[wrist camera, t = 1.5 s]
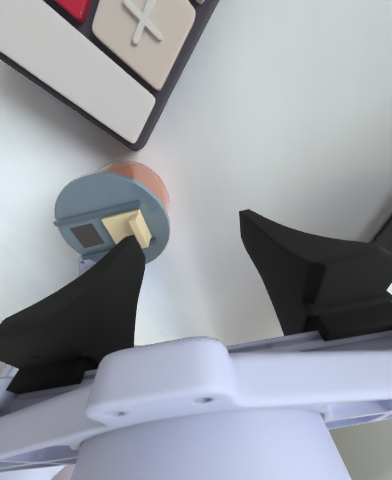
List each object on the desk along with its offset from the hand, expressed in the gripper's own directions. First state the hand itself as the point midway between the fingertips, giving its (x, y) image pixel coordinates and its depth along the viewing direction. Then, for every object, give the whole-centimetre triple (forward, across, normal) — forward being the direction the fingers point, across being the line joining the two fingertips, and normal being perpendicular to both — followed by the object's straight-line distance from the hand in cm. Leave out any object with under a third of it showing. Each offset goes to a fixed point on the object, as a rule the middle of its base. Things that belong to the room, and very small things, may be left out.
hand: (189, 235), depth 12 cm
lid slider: (+4, +5, 0) cm, 6 cm away
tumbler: (+10, +7, 0) cm, 12 cm away
